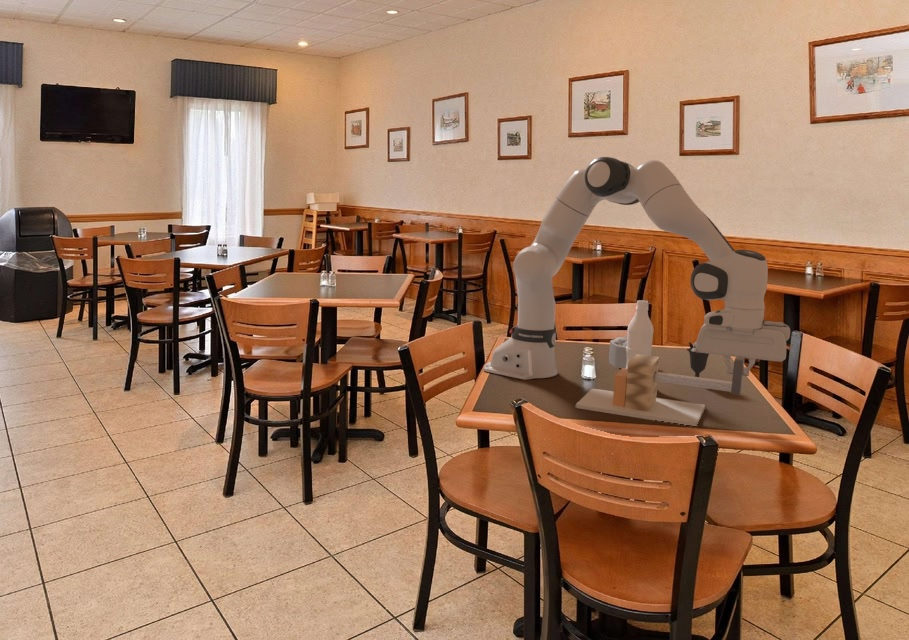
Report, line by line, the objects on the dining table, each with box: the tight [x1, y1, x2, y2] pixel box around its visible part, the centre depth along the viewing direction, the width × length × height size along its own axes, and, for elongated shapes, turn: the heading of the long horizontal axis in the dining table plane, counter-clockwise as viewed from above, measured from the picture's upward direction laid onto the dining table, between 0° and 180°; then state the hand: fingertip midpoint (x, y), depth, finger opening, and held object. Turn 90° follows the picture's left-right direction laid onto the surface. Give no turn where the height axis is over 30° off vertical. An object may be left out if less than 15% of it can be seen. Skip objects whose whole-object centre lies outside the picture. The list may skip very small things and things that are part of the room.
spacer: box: [613, 368, 628, 407], centre depth 185 cm, size 3×8×8 cm, turn 154°
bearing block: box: [625, 354, 660, 412], centre depth 183 cm, size 6×10×12 cm, turn 154°
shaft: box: [654, 357, 746, 395], centre depth 177 cm, size 24×5×8 cm, turn 64°
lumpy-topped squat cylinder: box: [608, 336, 627, 370], centre depth 226 cm, size 10×13×9 cm
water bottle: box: [626, 299, 655, 369], centre depth 201 cm, size 7×7×25 cm
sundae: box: [686, 340, 710, 377], centre depth 206 cm, size 7×7×15 cm
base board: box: [575, 388, 706, 427], centre depth 184 cm, size 30×16×1 cm, turn 64°
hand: (737, 374), depth 172 cm, fingers closed on shaft, 2 cm apart
